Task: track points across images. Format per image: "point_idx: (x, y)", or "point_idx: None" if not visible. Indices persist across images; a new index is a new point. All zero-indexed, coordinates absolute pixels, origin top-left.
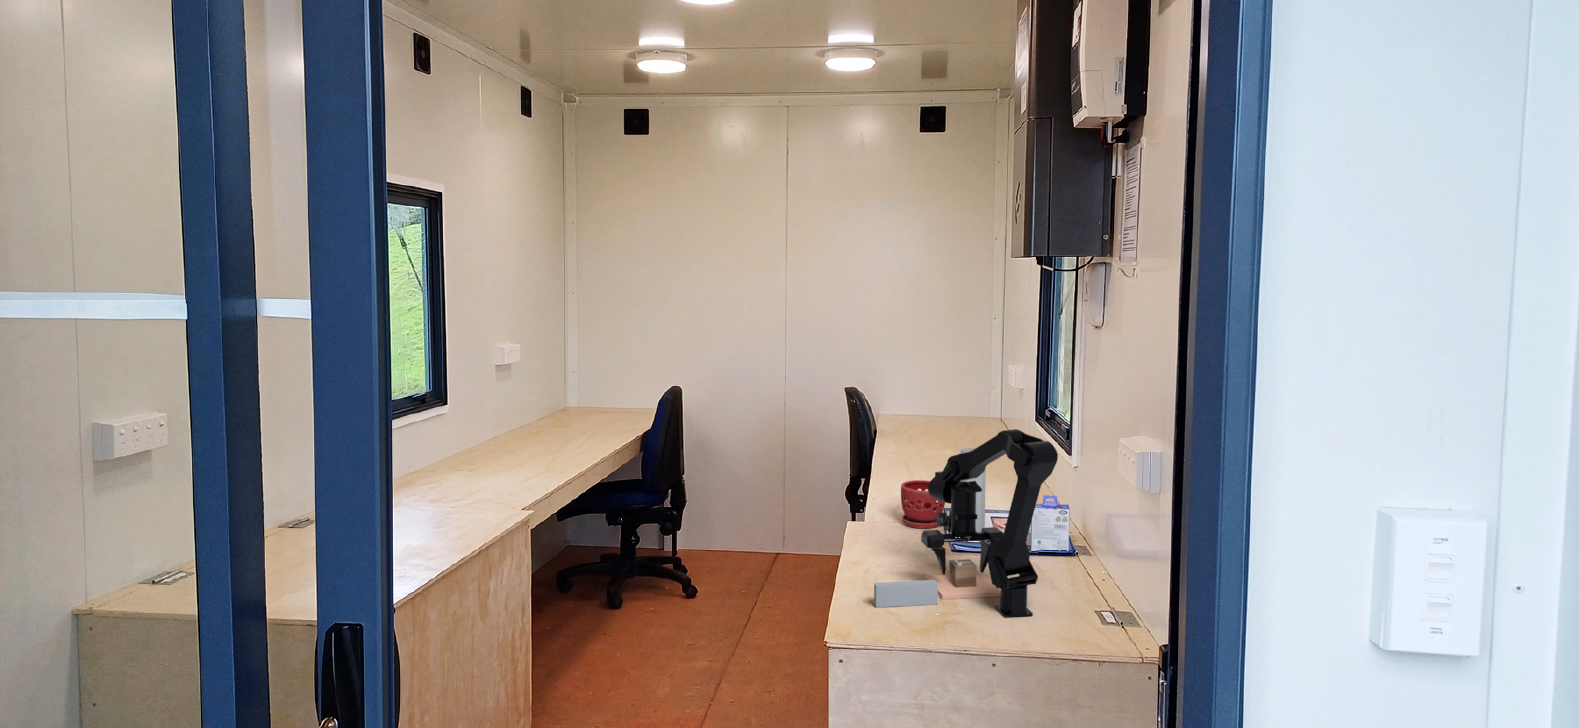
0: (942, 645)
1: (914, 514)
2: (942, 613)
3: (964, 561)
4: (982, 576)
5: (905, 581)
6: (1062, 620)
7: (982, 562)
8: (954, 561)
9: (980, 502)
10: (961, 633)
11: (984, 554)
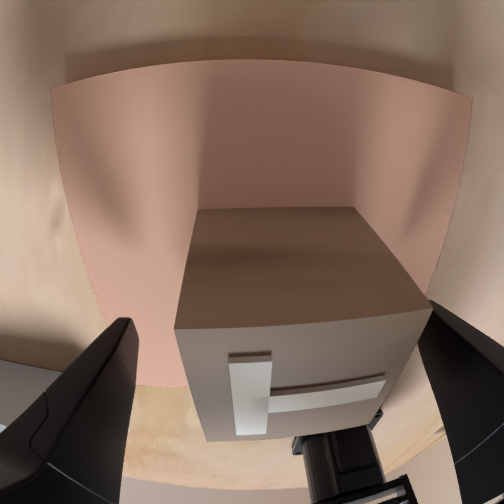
0: (140, 478)
1: None
2: (137, 429)
3: (338, 372)
4: (451, 165)
5: (2, 425)
6: (395, 438)
7: (445, 380)
8: (229, 369)
9: None
10: (174, 471)
11: (468, 439)
